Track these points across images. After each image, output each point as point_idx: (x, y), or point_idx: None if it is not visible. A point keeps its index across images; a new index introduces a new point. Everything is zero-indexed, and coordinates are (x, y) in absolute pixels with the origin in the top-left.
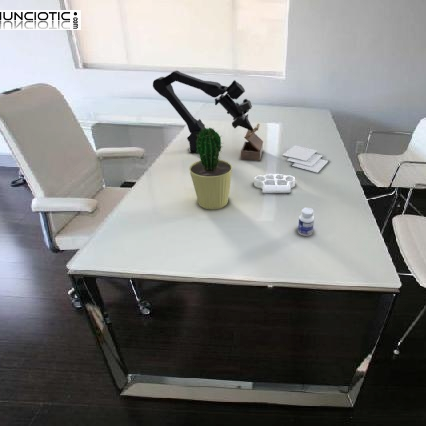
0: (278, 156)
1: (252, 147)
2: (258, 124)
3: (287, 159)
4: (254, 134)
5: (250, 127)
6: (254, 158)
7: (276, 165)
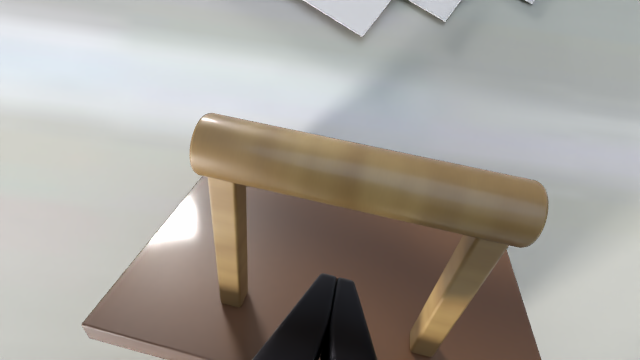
0: (362, 67)
1: None
2: (263, 140)
3: (433, 14)
4: (206, 233)
5: (372, 357)
6: None
7: (526, 103)
